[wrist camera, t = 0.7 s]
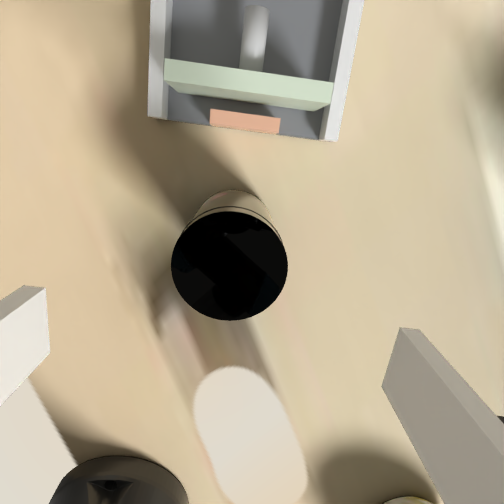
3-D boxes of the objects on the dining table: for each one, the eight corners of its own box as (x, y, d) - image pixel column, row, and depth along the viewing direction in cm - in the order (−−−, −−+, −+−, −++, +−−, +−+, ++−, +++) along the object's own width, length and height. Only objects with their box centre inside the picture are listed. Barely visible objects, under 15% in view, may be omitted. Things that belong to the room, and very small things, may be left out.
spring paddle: (314, 111, 26) (330, 103, 21) (178, 92, 25) (163, 80, 20) (326, 34, 24) (347, 7, 20) (182, 12, 24) (168, -22, 19)
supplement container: (237, 170, 28) (235, 184, 18) (288, 230, 29) (311, 274, 20) (178, 223, 29) (145, 263, 19) (230, 277, 31) (225, 341, 21)
